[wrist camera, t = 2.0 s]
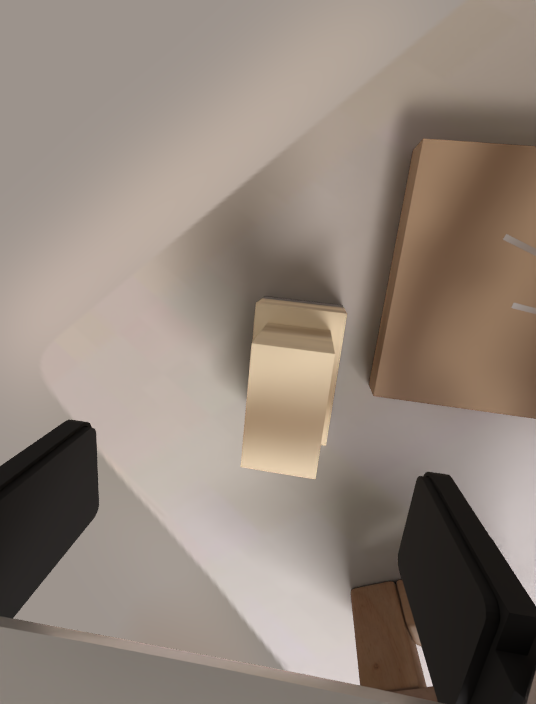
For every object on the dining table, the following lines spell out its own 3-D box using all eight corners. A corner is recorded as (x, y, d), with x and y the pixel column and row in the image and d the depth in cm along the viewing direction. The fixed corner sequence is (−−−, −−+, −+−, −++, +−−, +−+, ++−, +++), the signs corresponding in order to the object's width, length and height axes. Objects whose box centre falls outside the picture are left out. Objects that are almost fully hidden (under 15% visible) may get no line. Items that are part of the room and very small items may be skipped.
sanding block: (264, 296, 23) (236, 317, 15) (342, 305, 22) (357, 332, 14) (254, 408, 25) (223, 482, 17) (324, 419, 25) (328, 500, 16)
